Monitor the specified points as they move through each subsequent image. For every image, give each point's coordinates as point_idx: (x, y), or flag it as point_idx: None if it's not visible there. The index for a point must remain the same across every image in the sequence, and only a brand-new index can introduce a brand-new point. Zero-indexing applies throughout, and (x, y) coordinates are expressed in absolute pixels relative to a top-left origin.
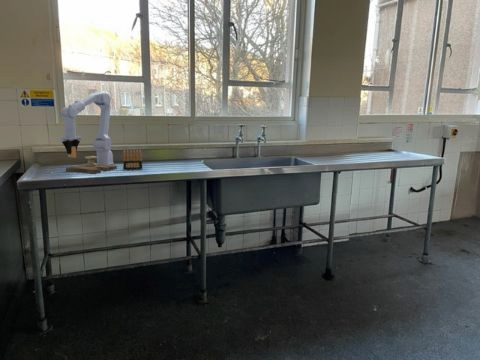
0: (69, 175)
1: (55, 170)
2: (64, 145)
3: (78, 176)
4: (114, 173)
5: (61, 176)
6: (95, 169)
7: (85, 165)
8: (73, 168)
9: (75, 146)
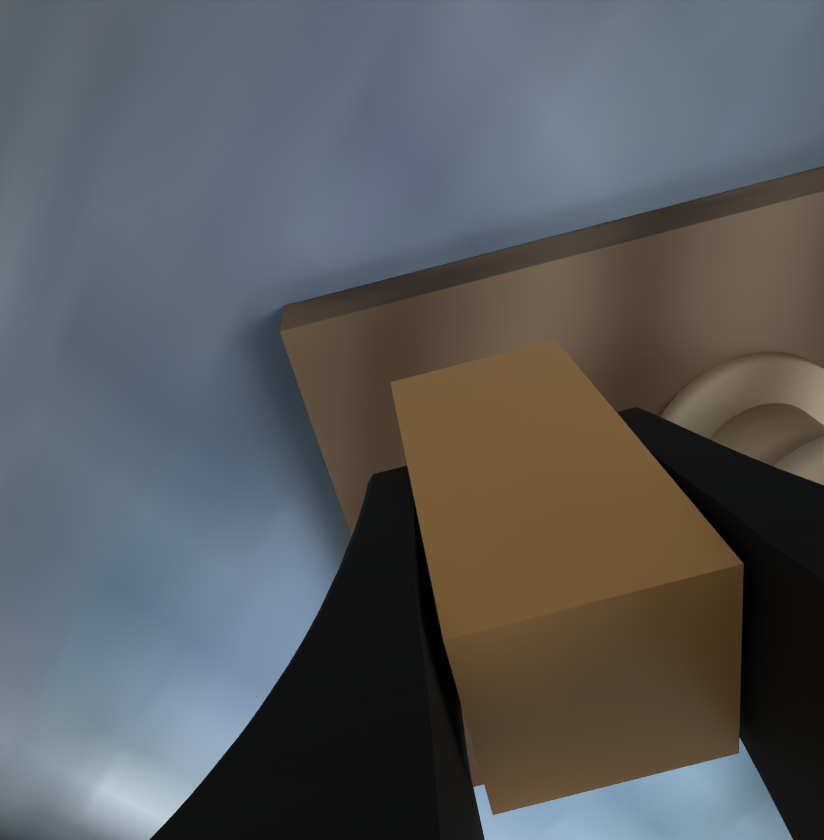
0: (128, 674)
1: (146, 63)
2: (257, 743)
3: (187, 775)
4: (572, 830)
5: (5, 674)
6: (472, 770)
7: (674, 390)
8: (338, 496)
9: (732, 749)
